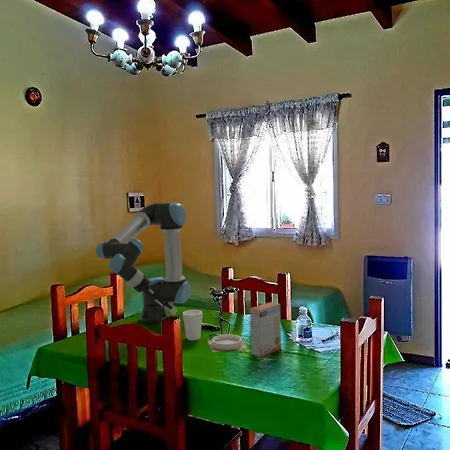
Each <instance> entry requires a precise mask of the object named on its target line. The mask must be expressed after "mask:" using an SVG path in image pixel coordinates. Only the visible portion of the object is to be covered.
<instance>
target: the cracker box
mask: <svg viewBox="0 0 450 450" xmlns="http://www.w3.org/2000/svg"><path fill="white" fill-rule="evenodd" d="M249 310H250V312H249V313H250V337H251V338H250V339H251V341H250V343H251V356H252V355H253V356H256V357H259V358H263V357H266V356H269V355H270V354H273V353H274V352H277V351H280V350H281V349H282V332H281V331H282V330H281V329H282V327H281V325H282V323H281V304H280V303H278V302H277V303H276V302H272V301H270V302H267V303H264V304H261V305H258V306H254V307H253V306H252V307H251V308H249Z"/></svg>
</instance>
